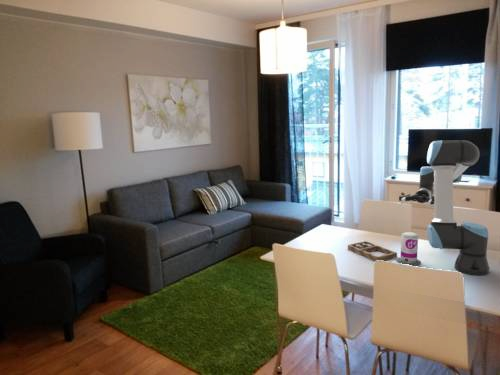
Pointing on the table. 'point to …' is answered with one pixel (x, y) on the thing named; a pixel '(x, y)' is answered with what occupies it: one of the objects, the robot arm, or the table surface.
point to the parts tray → (367, 247)
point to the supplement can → (409, 247)
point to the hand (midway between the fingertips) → (415, 202)
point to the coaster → (409, 263)
